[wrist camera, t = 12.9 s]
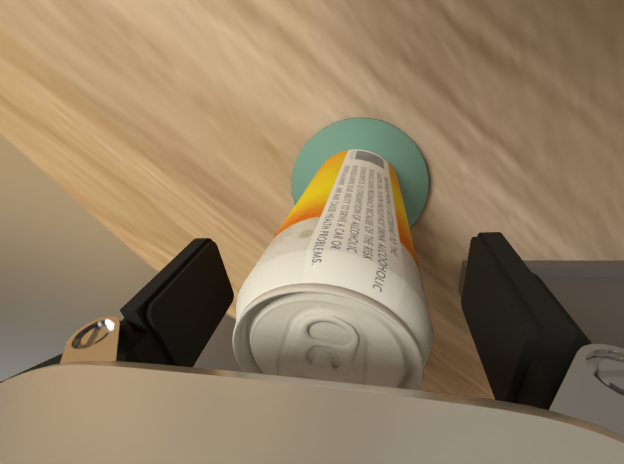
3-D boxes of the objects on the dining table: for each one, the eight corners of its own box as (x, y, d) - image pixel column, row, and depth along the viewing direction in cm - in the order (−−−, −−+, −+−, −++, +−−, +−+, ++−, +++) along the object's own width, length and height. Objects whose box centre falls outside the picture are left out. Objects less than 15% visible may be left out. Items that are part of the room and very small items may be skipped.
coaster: (283, 126, 20) (281, 127, 20) (431, 109, 18) (433, 109, 17) (302, 245, 25) (301, 249, 24) (423, 244, 22) (424, 248, 22)
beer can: (310, 217, 23) (222, 399, 10) (321, 139, 20) (214, 250, 7) (386, 232, 22) (401, 451, 9) (409, 155, 19) (484, 312, 6)
